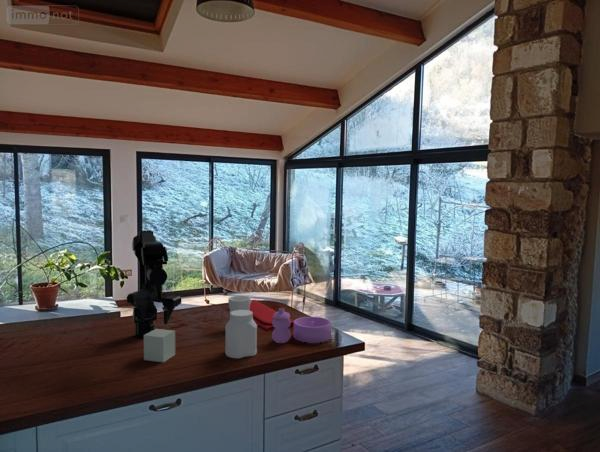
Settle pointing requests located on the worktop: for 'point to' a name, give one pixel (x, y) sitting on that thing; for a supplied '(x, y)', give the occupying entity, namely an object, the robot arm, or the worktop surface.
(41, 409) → the worktop surface
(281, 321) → the container set
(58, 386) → the worktop surface
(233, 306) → the foam cup
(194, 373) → the worktop surface
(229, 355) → the jar
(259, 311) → the dish drying mat
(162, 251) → the robot arm
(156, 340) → the pale grey cube
